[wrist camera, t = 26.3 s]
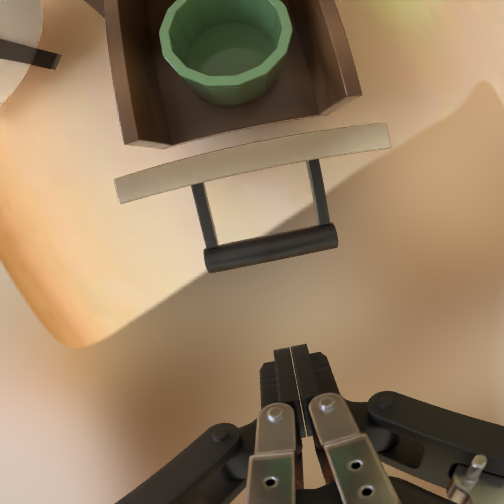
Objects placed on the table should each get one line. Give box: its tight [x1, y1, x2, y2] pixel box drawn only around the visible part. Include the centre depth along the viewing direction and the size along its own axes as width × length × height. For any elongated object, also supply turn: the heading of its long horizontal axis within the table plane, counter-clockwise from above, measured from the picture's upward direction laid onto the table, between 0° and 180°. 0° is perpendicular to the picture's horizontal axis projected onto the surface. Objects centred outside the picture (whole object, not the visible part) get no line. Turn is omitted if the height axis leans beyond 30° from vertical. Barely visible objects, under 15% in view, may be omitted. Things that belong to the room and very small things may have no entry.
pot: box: [159, 0, 293, 106], centre depth 15 cm, size 6×6×6 cm
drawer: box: [104, 0, 391, 273], centre depth 15 cm, size 20×13×7 cm, turn 12°
